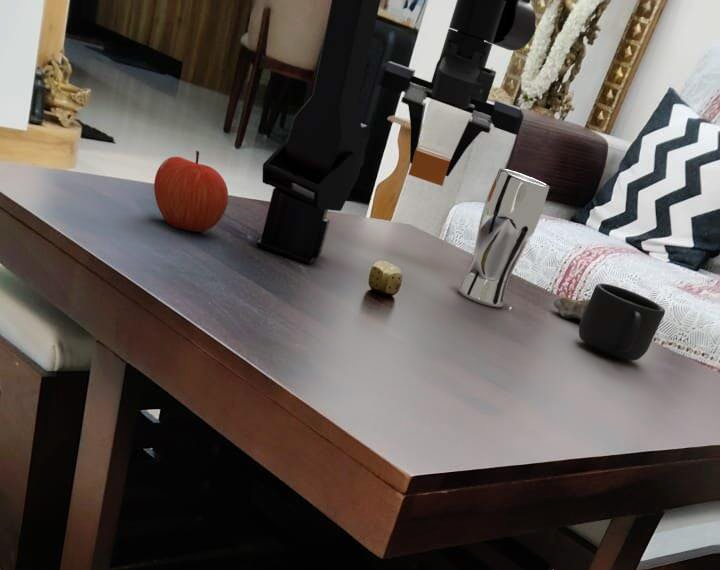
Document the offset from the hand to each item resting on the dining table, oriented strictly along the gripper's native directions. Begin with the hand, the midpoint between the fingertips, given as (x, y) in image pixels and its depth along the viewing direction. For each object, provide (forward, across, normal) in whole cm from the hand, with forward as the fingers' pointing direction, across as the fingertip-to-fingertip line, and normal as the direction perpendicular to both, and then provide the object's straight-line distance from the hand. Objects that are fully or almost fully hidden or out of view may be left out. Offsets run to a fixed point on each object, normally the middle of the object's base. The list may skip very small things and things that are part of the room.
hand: (428, 169), depth 130 cm
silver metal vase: (+11, +11, -10) cm, 19 cm away
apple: (+11, -24, -28) cm, 38 cm away
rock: (+12, +27, -2) cm, 30 cm away
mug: (+12, +28, -17) cm, 35 cm away
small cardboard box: (+1, 0, 0) cm, 1 cm away
